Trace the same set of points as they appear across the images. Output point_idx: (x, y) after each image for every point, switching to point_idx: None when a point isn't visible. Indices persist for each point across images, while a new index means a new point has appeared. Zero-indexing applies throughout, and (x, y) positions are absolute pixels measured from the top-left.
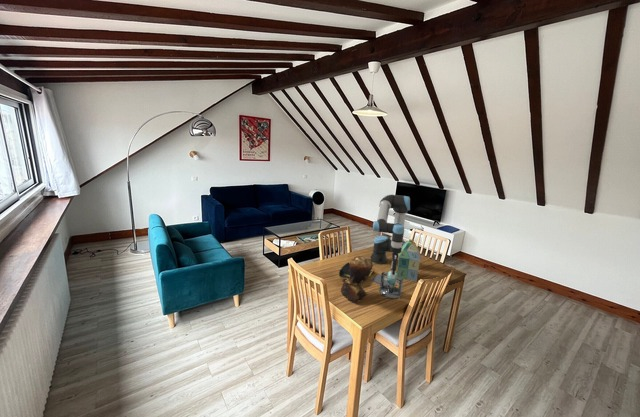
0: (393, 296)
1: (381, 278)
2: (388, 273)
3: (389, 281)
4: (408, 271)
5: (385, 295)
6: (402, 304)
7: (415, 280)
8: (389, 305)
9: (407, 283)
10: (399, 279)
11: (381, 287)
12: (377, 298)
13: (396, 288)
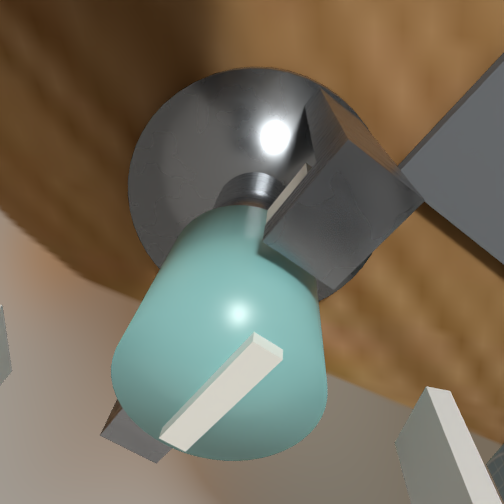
0: (143, 219)
1: (326, 117)
2: (185, 301)
3: (175, 243)
4: None
5: (143, 131)
6: (73, 270)
7: (493, 463)
8: (3, 145)
9: (452, 395)
10: (121, 414)
11: (305, 106)
12: (92, 15)
13: (318, 284)
